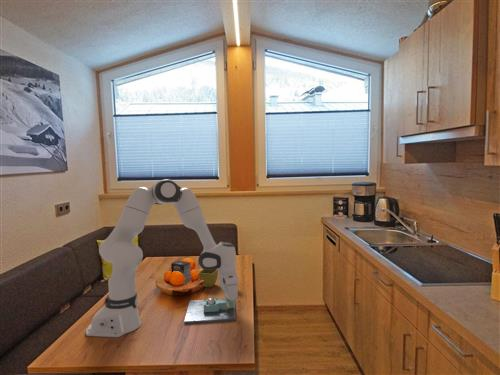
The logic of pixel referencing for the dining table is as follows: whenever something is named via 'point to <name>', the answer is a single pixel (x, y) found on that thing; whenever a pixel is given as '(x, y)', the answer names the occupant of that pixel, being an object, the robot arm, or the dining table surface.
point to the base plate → (208, 313)
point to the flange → (217, 305)
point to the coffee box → (182, 269)
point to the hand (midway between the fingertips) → (228, 302)
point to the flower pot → (208, 277)
